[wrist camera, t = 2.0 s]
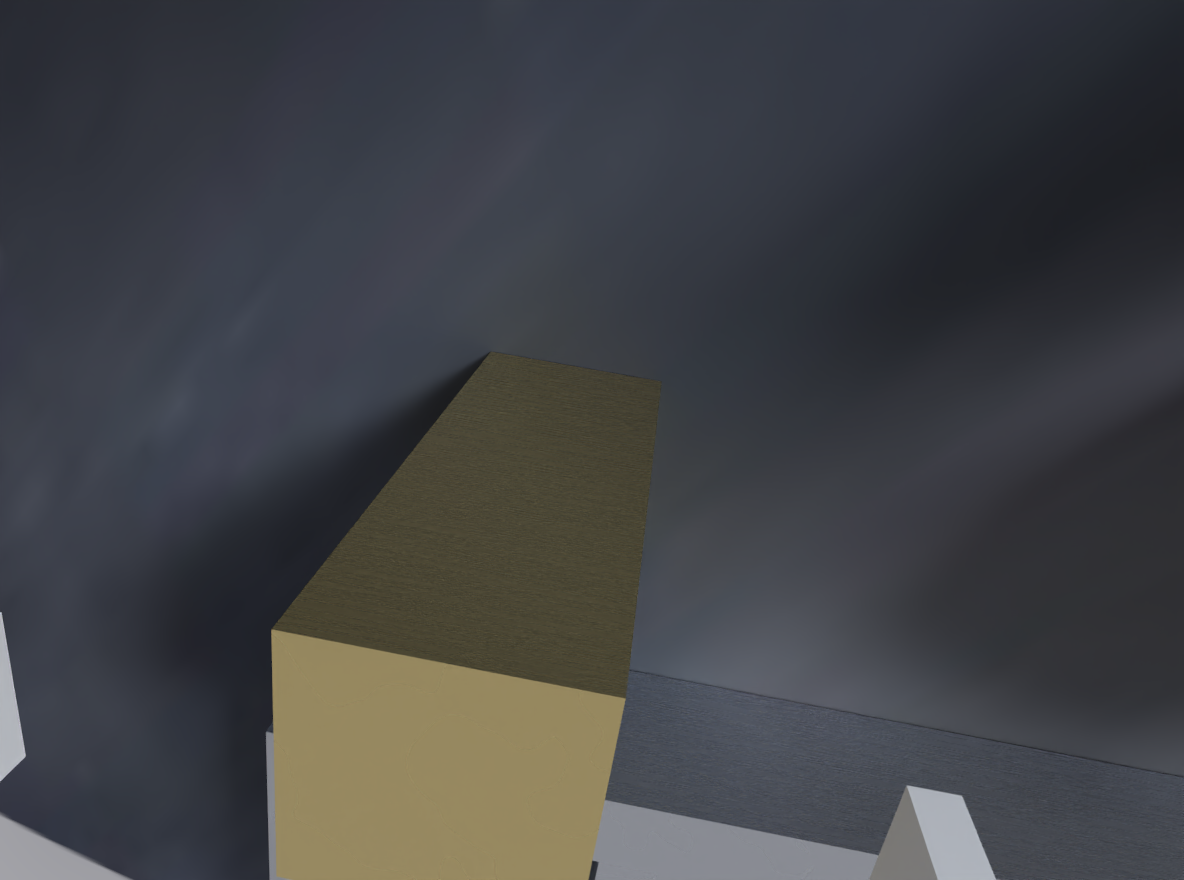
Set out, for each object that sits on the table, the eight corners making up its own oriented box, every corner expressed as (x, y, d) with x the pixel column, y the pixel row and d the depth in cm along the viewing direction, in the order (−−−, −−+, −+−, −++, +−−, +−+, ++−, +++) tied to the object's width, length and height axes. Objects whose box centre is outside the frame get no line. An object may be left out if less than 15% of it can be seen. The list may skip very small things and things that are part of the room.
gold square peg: (491, 351, 21) (271, 629, 10) (661, 381, 21) (626, 699, 10) (476, 502, 23) (276, 875, 12) (633, 531, 23) (576, 940, 12)
